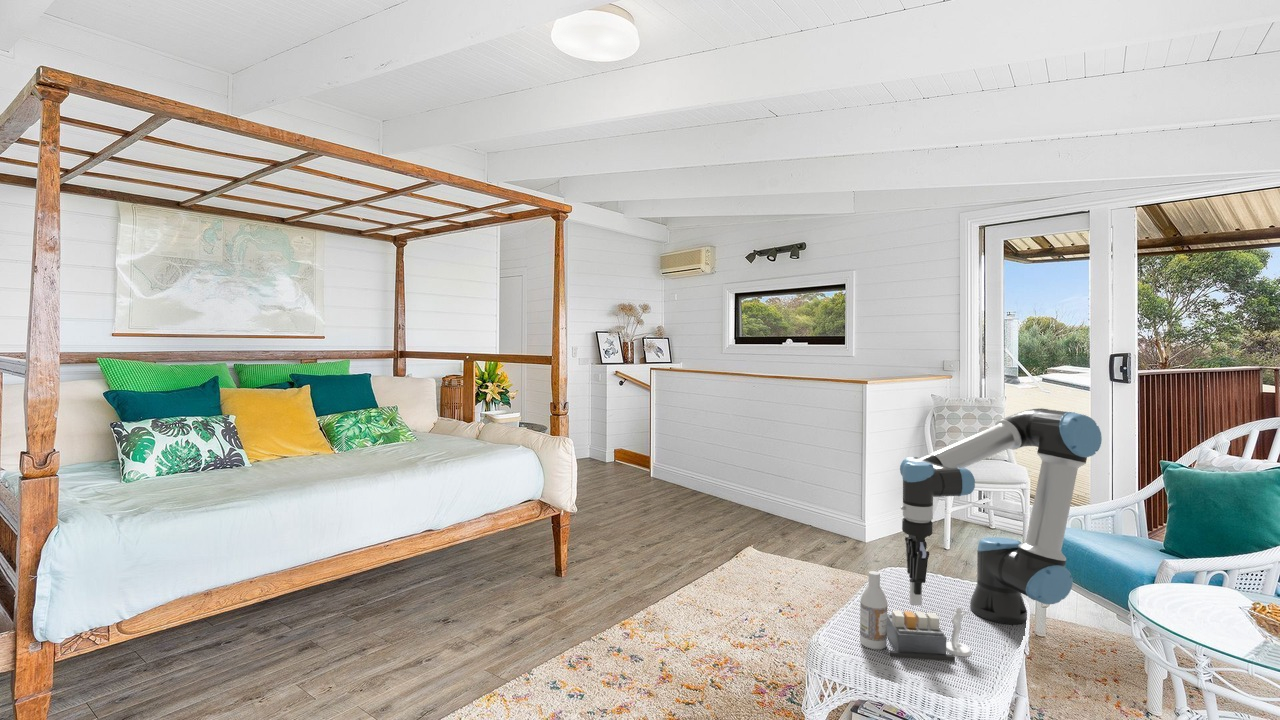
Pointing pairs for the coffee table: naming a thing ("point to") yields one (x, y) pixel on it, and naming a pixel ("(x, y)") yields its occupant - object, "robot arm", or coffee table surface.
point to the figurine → (954, 645)
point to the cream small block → (898, 618)
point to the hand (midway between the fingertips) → (915, 604)
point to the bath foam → (873, 614)
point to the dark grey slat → (922, 656)
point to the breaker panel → (916, 639)
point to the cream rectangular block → (932, 620)
